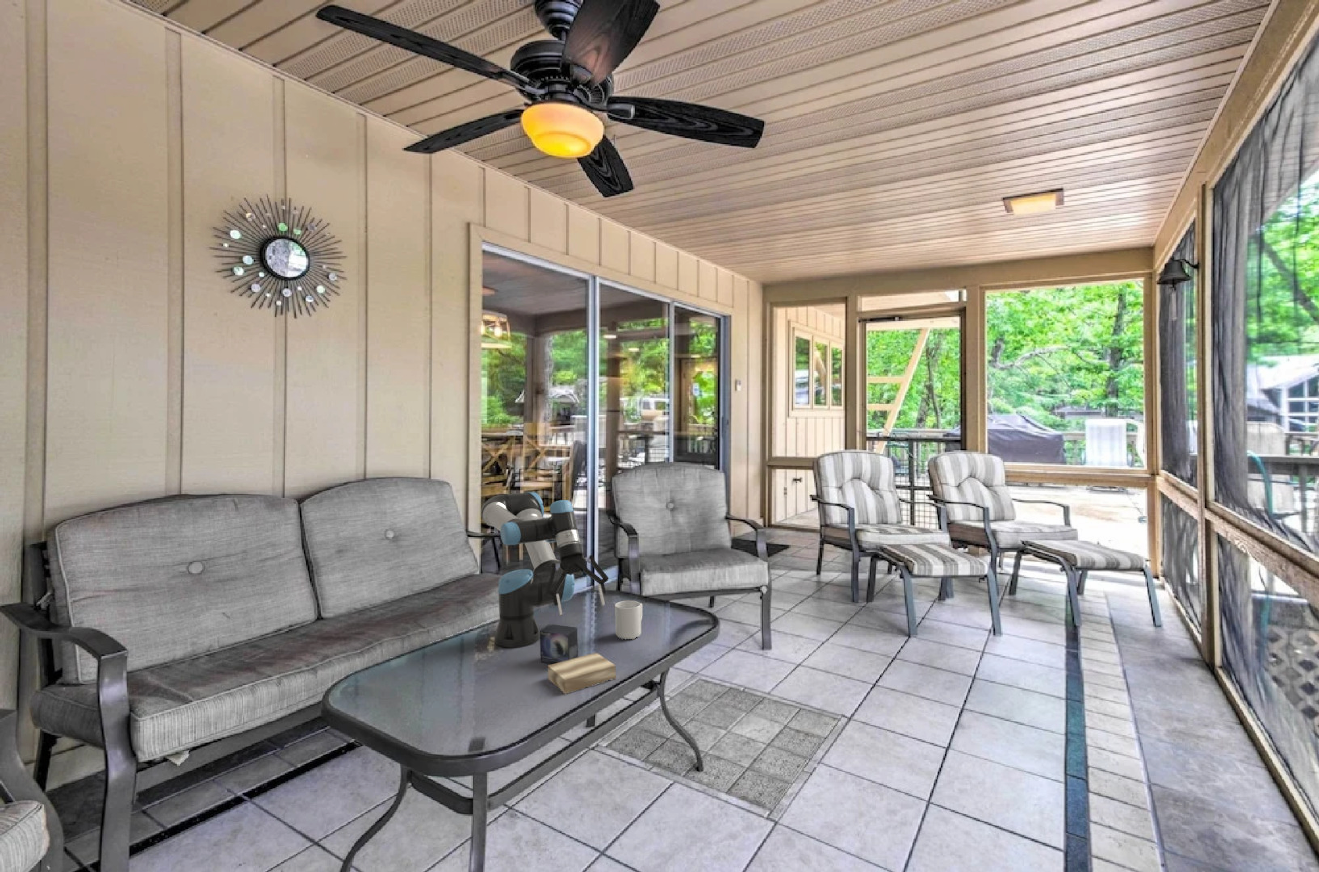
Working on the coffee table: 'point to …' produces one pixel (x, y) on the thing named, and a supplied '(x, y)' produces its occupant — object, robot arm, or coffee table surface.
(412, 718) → the coffee table surface
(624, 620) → the mug
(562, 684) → the wooden block
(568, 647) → the small box
